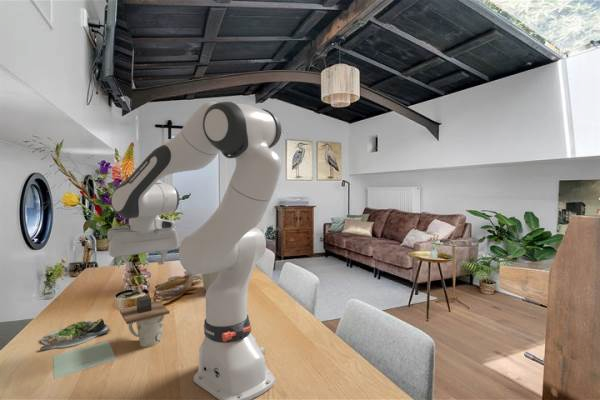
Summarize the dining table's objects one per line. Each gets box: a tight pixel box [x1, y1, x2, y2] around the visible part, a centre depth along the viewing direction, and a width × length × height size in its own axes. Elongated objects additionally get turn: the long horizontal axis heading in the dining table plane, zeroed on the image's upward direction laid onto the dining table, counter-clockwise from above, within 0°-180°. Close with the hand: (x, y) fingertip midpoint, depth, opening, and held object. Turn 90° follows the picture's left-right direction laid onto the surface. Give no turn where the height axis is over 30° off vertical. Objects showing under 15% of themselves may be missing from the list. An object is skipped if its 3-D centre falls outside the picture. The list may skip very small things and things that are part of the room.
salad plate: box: [39, 318, 112, 351], centre depth 102 cm, size 19×18×5 cm
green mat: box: [52, 340, 117, 379], centre depth 90 cm, size 14×14×1 cm
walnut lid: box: [118, 295, 170, 325], centre depth 99 cm, size 12×12×5 cm
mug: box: [128, 315, 165, 348], centre depth 99 cm, size 8×13×10 cm, turn 78°
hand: (145, 266), depth 100 cm, fingers open, 8 cm apart
